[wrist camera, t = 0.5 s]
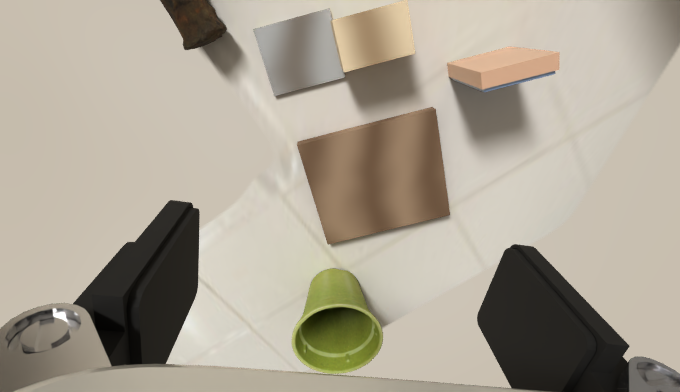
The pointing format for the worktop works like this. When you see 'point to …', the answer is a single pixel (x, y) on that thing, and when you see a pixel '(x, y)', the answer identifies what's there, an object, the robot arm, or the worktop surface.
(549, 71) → the tile
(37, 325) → the robot arm
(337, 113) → the worktop surface
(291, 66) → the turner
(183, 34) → the hand tool
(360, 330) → the plant pot
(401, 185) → the board
